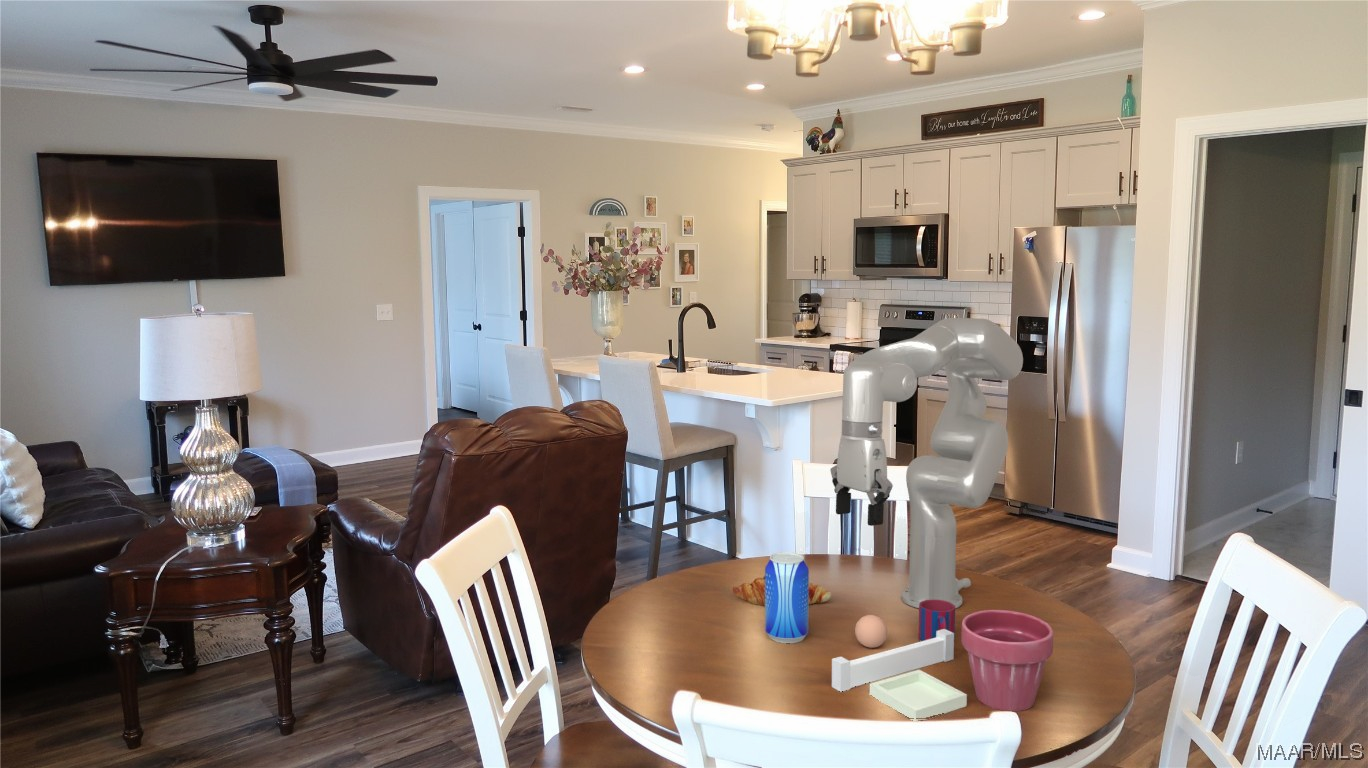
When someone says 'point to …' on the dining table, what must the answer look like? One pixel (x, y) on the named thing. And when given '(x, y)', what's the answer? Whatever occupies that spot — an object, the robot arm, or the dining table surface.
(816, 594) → the croissant
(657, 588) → the dining table surface
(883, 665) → the rail
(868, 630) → the ball
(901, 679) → the square tray
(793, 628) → the beer can
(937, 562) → the robot arm
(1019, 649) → the plant pot
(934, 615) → the mug
